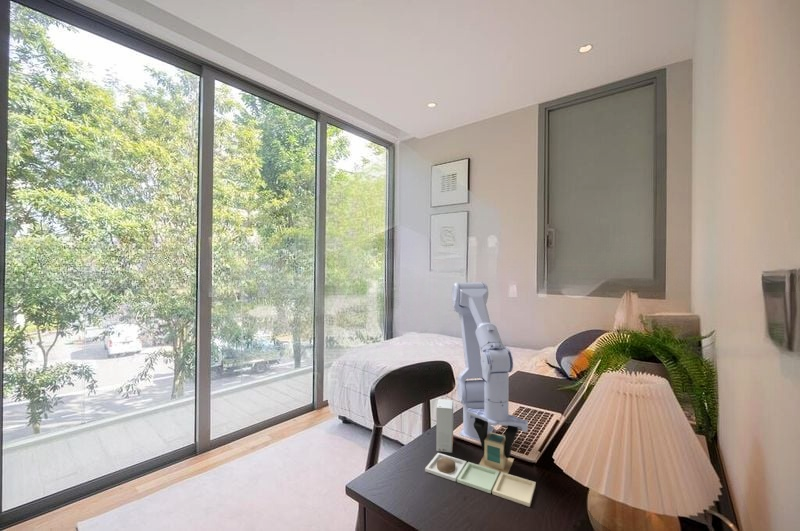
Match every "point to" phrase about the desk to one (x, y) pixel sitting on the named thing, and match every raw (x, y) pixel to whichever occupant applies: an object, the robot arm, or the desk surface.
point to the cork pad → (505, 470)
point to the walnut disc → (446, 465)
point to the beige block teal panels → (495, 451)
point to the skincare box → (444, 425)
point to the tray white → (451, 476)
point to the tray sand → (514, 488)
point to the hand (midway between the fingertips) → (496, 452)
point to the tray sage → (478, 477)
